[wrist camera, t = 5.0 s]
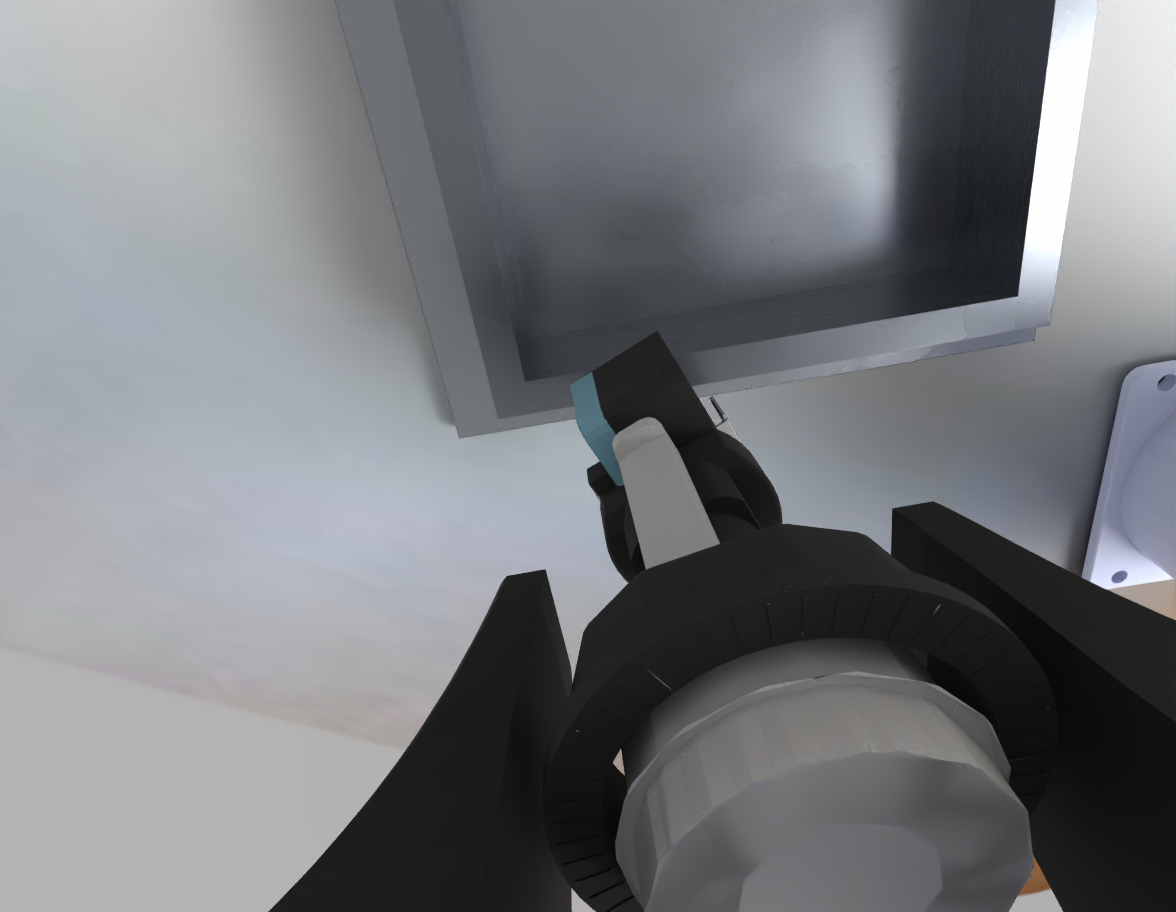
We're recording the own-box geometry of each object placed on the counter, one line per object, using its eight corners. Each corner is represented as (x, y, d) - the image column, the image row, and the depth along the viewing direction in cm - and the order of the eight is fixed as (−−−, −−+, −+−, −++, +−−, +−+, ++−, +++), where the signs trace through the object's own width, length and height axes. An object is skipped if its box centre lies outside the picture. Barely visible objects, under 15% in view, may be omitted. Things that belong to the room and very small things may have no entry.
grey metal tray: (1127, -460, 13) (1320, -642, 9) (1021, 333, 20) (1112, 381, 16) (264, -278, 13) (172, -394, 10) (462, 429, 20) (445, 493, 17)
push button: (841, 515, 16) (1214, 984, 7) (646, 621, 17) (768, 1154, 8) (709, 273, 14) (1040, 544, 5) (489, 412, 15) (418, 859, 6)
